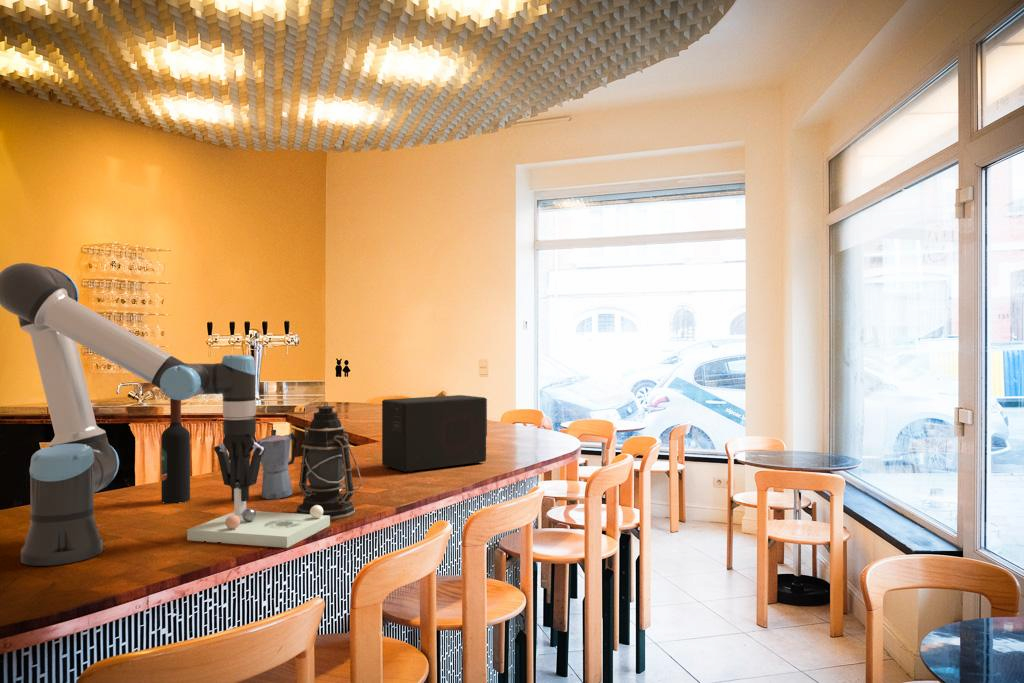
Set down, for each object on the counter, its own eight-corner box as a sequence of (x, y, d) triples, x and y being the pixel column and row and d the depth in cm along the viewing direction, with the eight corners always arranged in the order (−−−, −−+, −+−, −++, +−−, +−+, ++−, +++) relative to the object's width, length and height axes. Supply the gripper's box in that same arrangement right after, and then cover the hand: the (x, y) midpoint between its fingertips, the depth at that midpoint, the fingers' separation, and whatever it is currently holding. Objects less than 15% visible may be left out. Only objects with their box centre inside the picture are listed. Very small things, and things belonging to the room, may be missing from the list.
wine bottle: (179, 504, 207) (178, 398, 207) (155, 503, 209) (155, 398, 208) (195, 498, 214) (195, 396, 214) (172, 497, 216) (172, 396, 216)
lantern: (276, 515, 194) (276, 402, 194) (321, 503, 208) (321, 398, 208) (330, 525, 184) (330, 406, 184) (374, 512, 197) (374, 401, 197)
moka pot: (245, 499, 214) (245, 431, 214) (284, 489, 227) (284, 425, 227) (269, 502, 209) (269, 433, 209) (307, 492, 223) (307, 427, 223)
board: (287, 547, 164) (287, 536, 164) (187, 540, 170) (187, 529, 170) (329, 525, 183) (329, 515, 183) (238, 519, 190) (238, 509, 190)
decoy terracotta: (234, 531, 169) (234, 517, 169) (222, 530, 170) (222, 516, 169) (242, 527, 172) (242, 514, 172) (230, 526, 173) (230, 513, 173)
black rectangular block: (462, 456, 291) (462, 394, 291) (491, 463, 275) (491, 397, 275) (377, 466, 268) (377, 398, 268) (403, 474, 252) (403, 402, 252)
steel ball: (236, 517, 177) (246, 525, 176) (244, 506, 176) (253, 515, 176) (244, 514, 180) (253, 522, 179) (251, 504, 179) (260, 512, 179)
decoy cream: (319, 520, 179) (319, 507, 179) (307, 519, 180) (307, 506, 180) (325, 516, 182) (325, 504, 182) (314, 516, 183) (314, 503, 183)
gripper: (271, 416, 180) (272, 511, 180) (225, 415, 183) (226, 509, 183) (254, 420, 173) (255, 519, 173) (206, 419, 176) (207, 516, 176)
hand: (240, 514), depth 178 cm, fingers closed
